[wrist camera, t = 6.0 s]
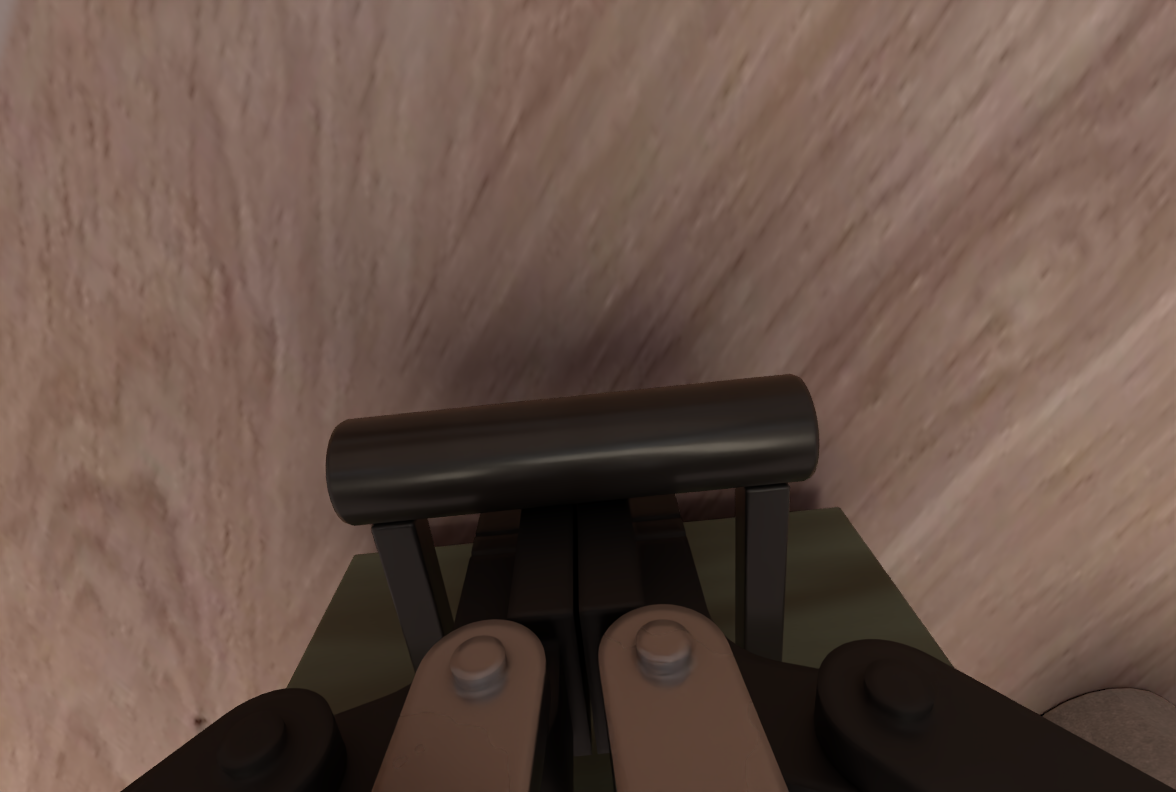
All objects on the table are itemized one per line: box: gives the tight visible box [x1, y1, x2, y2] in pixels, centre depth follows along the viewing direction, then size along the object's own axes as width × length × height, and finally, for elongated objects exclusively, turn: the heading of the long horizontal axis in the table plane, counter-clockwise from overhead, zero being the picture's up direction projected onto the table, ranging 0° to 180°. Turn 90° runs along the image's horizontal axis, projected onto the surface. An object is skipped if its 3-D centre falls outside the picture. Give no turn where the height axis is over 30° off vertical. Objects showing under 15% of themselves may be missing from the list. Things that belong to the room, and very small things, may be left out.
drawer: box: [287, 374, 954, 792], centre depth 13 cm, size 19×12×7 cm, turn 6°
